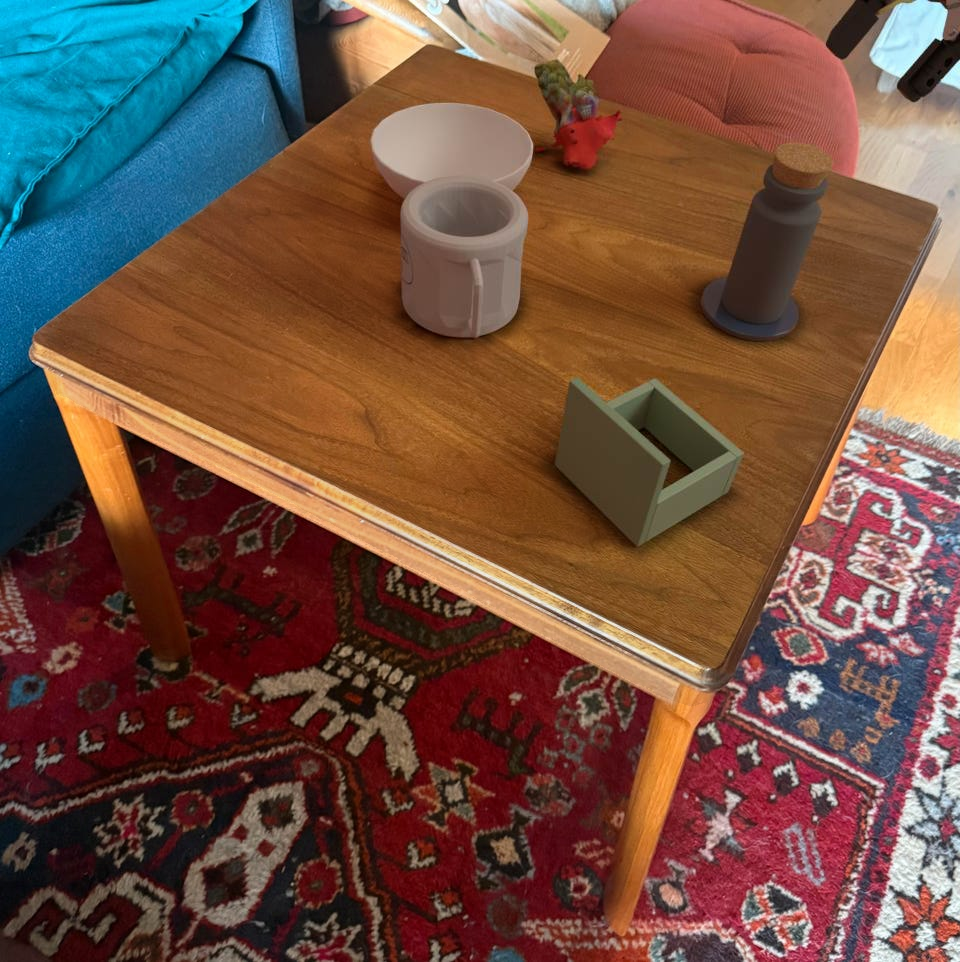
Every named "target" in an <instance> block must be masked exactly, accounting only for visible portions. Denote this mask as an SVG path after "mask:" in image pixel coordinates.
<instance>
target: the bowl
mask: <svg viewBox="0 0 960 962" xmlns="http://www.w3.org/2000/svg"><path fill="white" fill-rule="evenodd" d="M369 142H370V148H371V149H370V150H371V154H372V158H373V162H374V164H375V166H376V169H377V172H379V173H380V175H381V177H382V178H383V179H384V181H385V182H386V183H387V184H388V185H389V187H390V188H391V189H392V190H393V191H394V193H396V194H397V195H398V196H399V197H401V198H402V199H403V200H405V198H406V197H407V196H408V194H409V193H410V192H411V191H412V190H413V189H415V188H416V187H417V186H419V185H421V184H423V183H425V182H427V181H430V180H433V179H437V178H442V177H448V176H472V177H479V178H484V179H488V180H491V181H494V182H497V183H500V184H502V185H504V186H506V187H507V188H509V189H511V190H512V191H513V192H514V190H515V189H516V188H517V187H518V186H519V185H520V183H521V182H522V180H523V178H524V177H525V175H526V174H527V172H528V170H529V168H530V166H531V163H532V160H533V159H532V158H533V153H534V142H533V141H532V138H531V136H530V134H529V132H528V131H527V130H526V129H525V128H524V127H523V126H522V125H521V124H520V123H519V122H517V121H516V120H514V119H513V118H511V117H510V116H507V115H506V114H504V113H501V112H499V111H497V110H496V111H495V110H493V109H491V108H488V107H482V106H479V105H474V104H469V103H458V102H431V103H425V104H419V105H413V106H409V107H406V108H403V109H400V110H398V111H395V112H393V113H391V114H390V115H388V116H386V117H385V118H383V119H381V121H380V122H379V123H378V124H377V125H376V126H375V127H374V128H373V131H372V133H371V136H370V139H369Z"/></svg>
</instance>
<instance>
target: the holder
mask: <svg viewBox="0 0 960 962" xmlns="http://www.w3.org/2000/svg"><path fill="white" fill-rule="evenodd" d="M568 382H569V383H568V387H567V393H566V398H565V405H564V410H563V416H562V422H561V426H560V427H561V428H560V431H559V432H560V434H559V438H558V444H557V450H556V456H555V461H554V466H555V467H556V468H557V469H558V470H559V471H560V473H562V474H563V475H564V476H565V478H566V479H568V480H569V481H570V482H571V484H573V485H574V486H575V487H576V488H577V489H578V490H579V491H580V492H581V493H582V494H583V495H584V496H585V497H586V498H587V499H588V500H589V501H590V502H591V503H592V504H593V505H594V506H595V507H596V508H597V509H598V510H599V511H600V512H601V513H602V514H603V515H604V516H605V517H606V518H607V519H608V520H609V521H610V522H611V523H612V524H613V525H614V526H615V527H616V528H617V529H618V530H619V531H620V532H621V533H622V534H623V535H624V536H625V537H626V538H627V539H628V540H629V541H630V542H631V543H632V544H633V545H634V546H635V547H636V548H638V547H640V546H642V545H643V544H645V543H646V542H648V541H650V540H651V539H653V538H655V537H657V536H658V535H660V534H661V533H663V532H665V531H667V530H668V529H669V528H671V527H673V526H674V525H677V524H678V523H679V522H680V523H681V521H683V520H685V519H686V518H688V517H689V516H691V515H693V514H694V513H696V512H698V511H699V510H701V509H703V508H705V507H706V506H708V505H710V504H711V503H713V502H714V501H716V500H718V499H719V498H721V497H722V496H724V495H727V493H729V491H730V489H731V487H732V484H733V481H734V479H735V477H736V475H737V474H736V473H737V472H738V469H739V466H740V465H741V462H742V459H743V457H744V454H745V452H744V451H742V450H741V449H740V447H738V446H736V445H735V444H734V443H733V442H732V441H731V440H730V439H729V438H727V437H726V436H724V434H723V433H721V432H720V431H718V429H717V428H715V427H714V426H713V425H712V424H710V423H709V422H708V421H707V420H706V419H704V417H702V416H701V415H700V414H698V413H697V412H696V411H695V410H694V409H692V407H690V406H689V405H688V404H687V403H686V402H684V401H683V400H682V399H681V398H679V397H678V396H677V395H676V394H674V393H673V391H671V390H670V389H669V388H667V387H666V386H665V385H664V384H663V383H662V382H660V381H659V380H658V379H657V378H653V379H650V380H648V381H647V382H644V383H642V384H641V385H639V386H636V387H634V388H632V389H630V390H629V391H626V392H625V393H622V394H620V395H619V396H617V397H615V398H613V399H611V400H608V401H607V402H606V401H605V400H604V399H603V398H602V397H601V396H600V395H598V394H597V393H596V392H595V391H594V390H593V389H592V388H590V386H589V385H587V384H586V382H584V381H583V380H582V379H580V377H578V376H577V377H574V378H572V379H570V380H569V381H568ZM643 428H644V429H645V430H647V432H648V433H649V434H651V435H652V436H653V437H654V438H655V439H657V441H659V442H660V443H661V444H662V445H663V446H664V447H666V448H667V449H668V451H670V452H671V453H672V454H673V455H674V456H675V457H677V458H678V459H679V460H680V461H681V462H682V463H684V464H685V466H686V467H688V468H689V469H690V470H691V471H692V472H690V473H689V474H687V475H685V476H684V477H682V478H680V479H678V480H676V481H675V482H673V483H671V484H670V485H668V486H666V487H665V488H663V486H664V483H665V480H666V477H667V475H668V470H669V467H670V464H671V459H670V458H669V457H668V456H667V455H665V454H664V453H663V452H662V451H661V450H660V449H659V448H657V446H655V445H654V444H653V443H652V442H651V441H650V440H649V439H648V438H647V437H645V436H644V435H643V434H642V433H641V432H640V431H639V430H641V429H643Z"/></svg>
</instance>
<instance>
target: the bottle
mask: <svg viewBox="0 0 960 962" xmlns="http://www.w3.org/2000/svg"><path fill="white" fill-rule="evenodd" d="M833 166H834V158H833V156H831V155H830V153H828V152H827V151H826V150H824V149H823V148H821V147H819V146H817V145H814V144H811V143H807V142H801V141H800V142H799V141H791V142H785V143H781V144H780V145H777V147H776V148H775V149H774V153H773V163H772V164H770V165H769V166H768V167H767V168H766V169H765V173H764V175H763V180H762V183H763V186H764V187H763V188H761V189H759V191H757V192H756V193H755V194H754V195H753V197H752V200H751V203H750V205H749V209H748V211H747V214H746V218H745V221H744V224H743V227H742V230H741V233H740V237H739V239H738V243H737V246H736V249H735V252H734V255H733V258H732V262H731V265H730V268H729V272H728V275H727V276H726V277H727V280H726V284H725V287H724V290H723V294H722V304H723V306H724V308H725V309H726V311H727V312H728V313H730V314H731V315H732V316H734V317H736V318H737V319H740V320H742V321H745V322H749V323H754V324H767V323H771V322H774V321H776V320H777V319H779V318H780V317H781V316H782V314H783V312H784V310H785V307H786V305H787V302H788V300H789V297H790V296H791V294H792V292H793V289H794V287H795V285H796V282H797V280H798V277H799V274H800V272H801V269H802V266H803V264H804V261H805V259H806V256H807V254H808V251H809V250H810V249H809V248H810V246H811V244H812V241H813V238H814V235H815V233H816V230H817V227H818V225H819V222H820V219H821V216H822V208H821V205H820V203H819V201H820V200H821V199H822V198H823V197H824V196H825V195H826V191H827V189H828V185H829V181H828V178H827V176H828V174H829V172H830V171H831V169H832V168H833Z"/></svg>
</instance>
